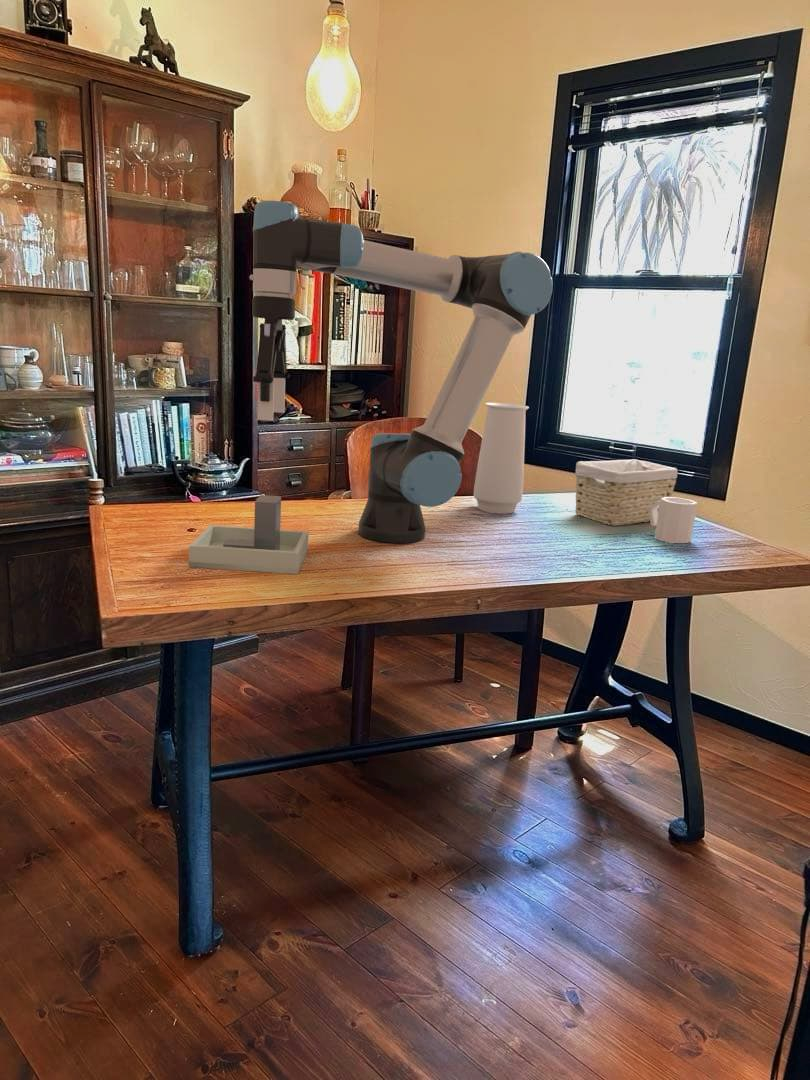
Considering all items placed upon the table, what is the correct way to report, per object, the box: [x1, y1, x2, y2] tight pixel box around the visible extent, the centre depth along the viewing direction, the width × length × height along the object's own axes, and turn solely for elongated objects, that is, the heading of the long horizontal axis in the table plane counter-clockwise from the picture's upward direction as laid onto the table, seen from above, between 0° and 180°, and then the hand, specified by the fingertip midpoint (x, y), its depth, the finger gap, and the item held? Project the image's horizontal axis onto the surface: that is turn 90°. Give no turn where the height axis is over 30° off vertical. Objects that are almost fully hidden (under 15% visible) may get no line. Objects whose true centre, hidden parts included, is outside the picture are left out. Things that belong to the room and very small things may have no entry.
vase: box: [473, 402, 530, 515], centre depth 204 cm, size 13×13×28 cm
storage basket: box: [575, 458, 678, 527], centre depth 207 cm, size 24×16×15 cm
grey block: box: [223, 494, 282, 551], centre depth 148 cm, size 10×6×11 cm, turn 90°
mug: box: [649, 496, 698, 544], centre depth 189 cm, size 12×9×10 cm
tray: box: [188, 524, 309, 575], centre depth 149 cm, size 20×16×4 cm
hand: (271, 416), depth 142 cm, fingers open, 13 cm apart
